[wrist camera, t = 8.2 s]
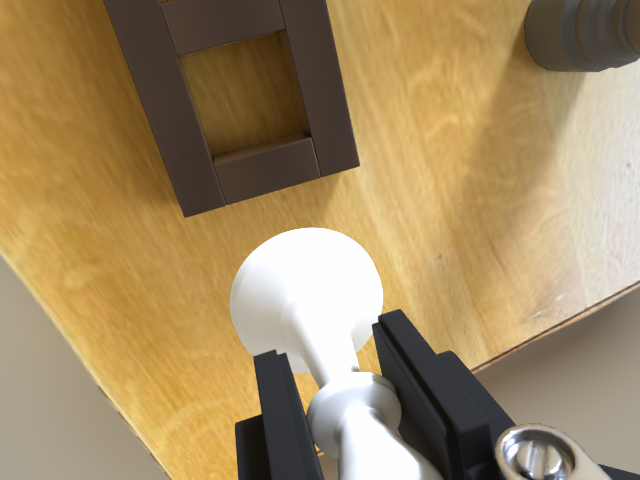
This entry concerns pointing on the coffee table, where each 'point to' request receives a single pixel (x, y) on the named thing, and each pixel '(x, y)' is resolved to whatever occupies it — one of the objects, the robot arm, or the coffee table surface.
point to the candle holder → (583, 34)
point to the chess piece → (327, 346)
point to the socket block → (181, 113)
